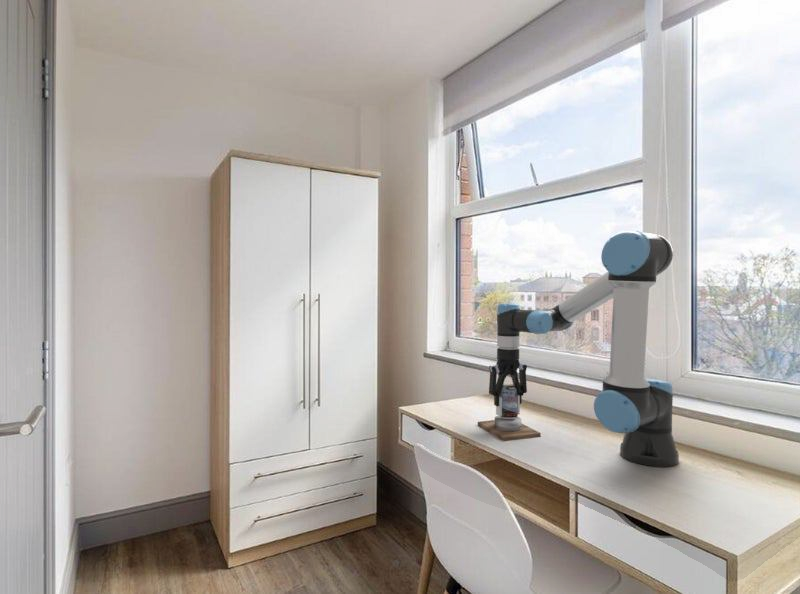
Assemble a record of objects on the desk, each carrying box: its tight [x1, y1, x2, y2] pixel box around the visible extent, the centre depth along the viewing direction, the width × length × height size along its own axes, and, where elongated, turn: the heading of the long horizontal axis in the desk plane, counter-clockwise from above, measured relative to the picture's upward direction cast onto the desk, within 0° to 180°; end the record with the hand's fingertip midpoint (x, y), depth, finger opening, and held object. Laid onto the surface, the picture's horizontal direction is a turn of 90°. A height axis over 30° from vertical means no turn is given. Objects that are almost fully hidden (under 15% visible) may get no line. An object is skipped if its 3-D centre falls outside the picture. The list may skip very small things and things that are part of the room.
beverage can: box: [500, 383, 519, 419], centre depth 163 cm, size 6×7×12 cm
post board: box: [477, 415, 542, 442], centre depth 163 cm, size 18×14×4 cm
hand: (507, 414), depth 163 cm, fingers closed on beverage can, 6 cm apart
